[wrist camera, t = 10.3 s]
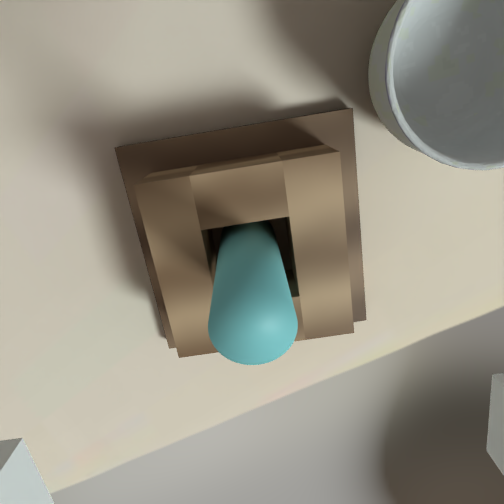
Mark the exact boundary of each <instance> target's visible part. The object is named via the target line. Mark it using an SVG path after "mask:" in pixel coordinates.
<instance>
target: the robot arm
mask: <svg viewBox="0 0 504 504" xmlns="http://www.w3.org/2000/svg"><path fill="white" fill-rule="evenodd" d="M487 452H488V453H489V455H490V456H491V458H492V459H493V461H494V462H495V464H496V465H497V467H498V468H499V469H500V471H501V472H502V474H503V475H504V373H501V374H493V375H492V387H491V399H490V412H489V425H488V438H487ZM0 504H54V502H53V500H52V497H51V496H50V493H49V491H48V489H47V487H46V485H45V483H44V481H43V479H42V477H41V475H40V473H39V471H38V469H37V467H36V465H35V462H34V460H33V458H32V456H31V454H30V452H29V450H28V448H27V446H26V444H25V442H24V440H23V438H18V439H11V440H3V441H0Z"/></svg>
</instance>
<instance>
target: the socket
mask: <svg viewBox="0 0 504 504" xmlns="http://www.w3.org/2000/svg"><path fill="white" fill-rule="evenodd" d="M115 151H116V155H117V159H118V162H119V166H120V170H121V173H122V177H123V181H124V184H125V188H126V192H127V195H128V199H129V203H130V206H131V210H132V214H133V217H134V221H135V225H136V228H137V232H138V236H139V239H140V243H141V247H142V250H143V254H144V258H145V261H146V265H147V269H148V272H149V276H150V280H151V283H152V287H153V291H154V295H155V298H156V302H157V306H158V309H159V313H160V317H161V320H162V324H163V328H164V331H165V335H166V339H167V342H168V346H169V348H177V352H178V356H179V358H181V357H188V356H195V355H202V354H209V353H216V352H218V351H217V349H216V348H215V347H214V345H213V344H212V342H211V340H210V337H209V333H208V320H209V313H210V306H211V300H212V293H213V286H214V279H215V272H216V266H217V259H218V252H219V245H220V238H221V233H222V230H223V227H225V226H231V225H237V224H244V223H250V222H257V221H263V220H268V221H269V222H270V224H271V225H272V227H273V229H274V232H275V236H276V239H277V243H278V247H279V251H280V255H281V259H282V262H283V266H284V270H285V274H286V278H287V282H288V285H289V289H290V293H291V297H292V301H293V305H294V308H295V312H296V316H297V321H298V329H297V334H296V337H295V340H294V341H300V340H307V339H314V338H321V337H328V336H335V335H342V334H349V333H354V325H353V322H357V321H364V320H366V307H365V292H364V276H363V261H362V245H361V230H360V214H359V199H358V184H357V168H356V153H355V137H354V122H353V108H347V109H341V110H335V111H329V112H323V113H317V114H311V115H305V116H299V117H293V118H287V119H281V120H275V121H269V122H263V123H257V124H251V125H245V126H239V127H233V128H227V129H221V130H215V131H209V132H203V133H197V134H191V135H185V136H180V137H174V138H168V139H162V140H156V141H150V142H144V143H138V144H132V145H126V146H120V147H116V148H115Z"/></svg>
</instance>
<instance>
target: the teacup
mask: <svg viewBox="0 0 504 504" xmlns="http://www.w3.org/2000/svg"><path fill="white" fill-rule="evenodd" d="M368 81H369V90H370V95H371V100H372V103H373V106H374V109H375V111H376V113H377V115H378V117H379V118H380V120H381V122H382V123H383V124H384V126H385V127H386V128H387V129H388V131H389V132H390V133H391V134H393V135H394V136H395V137H396V138H397V139H398V140H400V141H401V142H402V143H404V144H405V145H407V146H409V147H411V148H413V149H415V150H417V151H419V152H421V153H424V154H425V155H427V156H429V157H431V158H433V159H434V160H436V161H438V162H440V163H443V164H446V165H449V166H453V167H456V168H463V169H470V170H490V169H498V168H503V167H504V0H397V1H396V2H395V4H394V5H393V7H392V8H391V9H390V11H389V12H388V14H387V15H386V17H385V19H384V20H383V22H382V24H381V26H380V28H379V30H378V32H377V35H376V38H375V40H374V43H373V46H372V50H371V54H370V60H369V70H368Z"/></svg>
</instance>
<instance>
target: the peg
mask: <svg viewBox="0 0 504 504" xmlns="http://www.w3.org/2000/svg"><path fill="white" fill-rule="evenodd" d="M297 329H298V321H297V316H296V312H295V308H294V305H293V301H292V297H291V293H290V289H289V285H288V282H287V278H286V274H285V270H284V266H283V262H282V259H281V255H280V251H279V247H278V243H277V239H276V236H275V232H274V229H273V227H272V225H271V224H270V222H269V221H268V220H263V221H257V222H250V223H244V224H237V225H231V226H225V227H223V230H222V233H221V238H220V245H219V252H218V259H217V266H216V272H215V279H214V286H213V293H212V300H211V306H210V313H209V320H208V333H209V337H210V340H211V342H212V344H213V345H214V347H215V348H216V349H217V351H218V352H219V353H221V354H222V355H223V356H224V357H226V358H227V359H229V360H231V361H234V362H236V363H240V364H246V365H259V364H264V363H268V362H271V361H273V360H275V359H277V358H278V357H280V356H281V355H283V354H284V353H285V352H286V351H287V350H288V349H289V348H290V347H291V345H292V344H293V342H294V340H295V337H296V334H297Z"/></svg>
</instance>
